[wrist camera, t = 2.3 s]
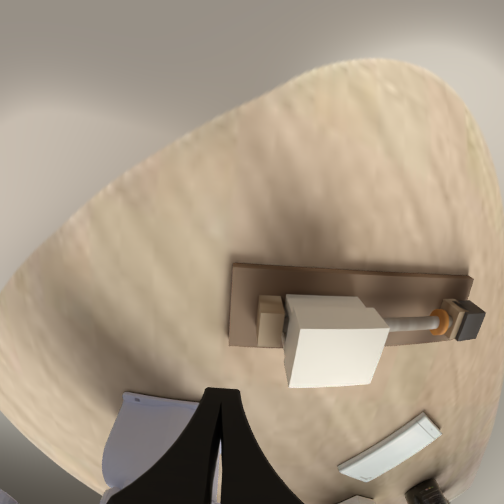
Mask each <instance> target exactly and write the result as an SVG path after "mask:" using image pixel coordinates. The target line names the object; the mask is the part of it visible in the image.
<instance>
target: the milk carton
mask: <svg viewBox="0 0 504 504" xmlns="http://www.w3.org/2000/svg"><path fill="white" fill-rule="evenodd" d="M338 504H376V503H375V500H373V499H369V498H365V497H361V496H358V495H357V496H354V497H352V498H350V499H347V500H345V501H343V502H341V503H338Z"/></svg>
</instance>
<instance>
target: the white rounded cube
mask: <svg viewBox="0 0 504 504" xmlns="http://www.w3.org/2000/svg"><path fill="white" fill-rule="evenodd" d="M284 312H285V317H289V324H288V331H287V332H282V337H281V338H282V343H283V348H284V353H285V359H284V365H285V371H286V376H287V382H288V387H289V388H314V387H336V386H351V385H363V384H370V382H371V380H372V377H373V375H374V372H375V369H376V367H377V364H378V362H379V359H380V356H381V353H382V350H383V348H384V345H385V342H386V339H387V336H388V333H389V330H390V327H389V326H388V325H387V324H386V322H385V321H384V320H383V319H382V317H381V316H380V315H379V314H378V312H377V311H376V310H375V309H374V308H366V307H365V305H364V304H363V303H362V301H361V300H360V299H359V298H358V297H350V296H318V295H294V294H286V299H285V306H284Z"/></svg>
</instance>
